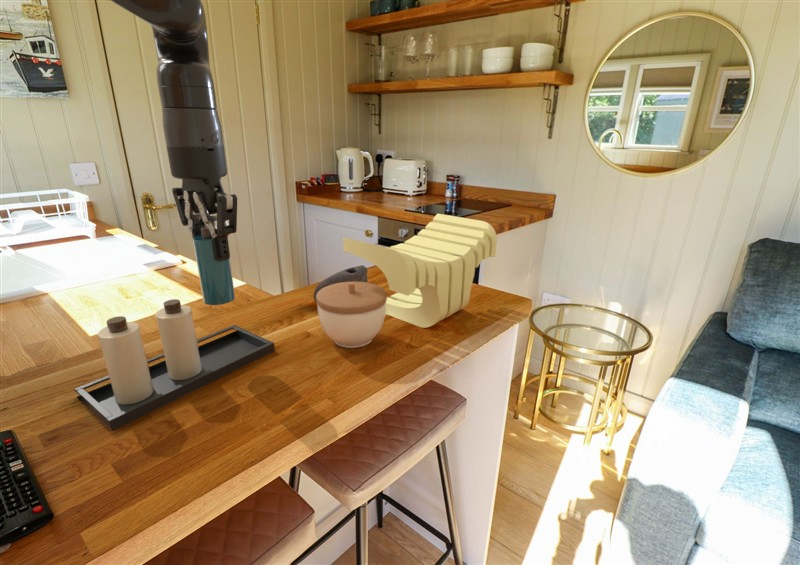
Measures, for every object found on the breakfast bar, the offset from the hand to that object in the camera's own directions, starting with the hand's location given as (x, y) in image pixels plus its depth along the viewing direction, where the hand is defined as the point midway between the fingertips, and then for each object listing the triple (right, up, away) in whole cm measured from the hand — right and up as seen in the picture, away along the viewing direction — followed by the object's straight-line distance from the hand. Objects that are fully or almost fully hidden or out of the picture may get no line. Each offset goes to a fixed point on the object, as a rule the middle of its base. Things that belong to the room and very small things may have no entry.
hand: (212, 256), depth 66 cm
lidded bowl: (+21, -15, +13) cm, 28 cm away
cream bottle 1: (-9, -20, -5) cm, 23 cm away
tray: (-5, -19, +1) cm, 19 cm away
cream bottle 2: (-5, -18, 0) cm, 19 cm away
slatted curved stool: (+35, -10, +24) cm, 44 cm away
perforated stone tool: (+17, -8, +29) cm, 35 cm away
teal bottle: (0, -7, +3) cm, 7 cm away
